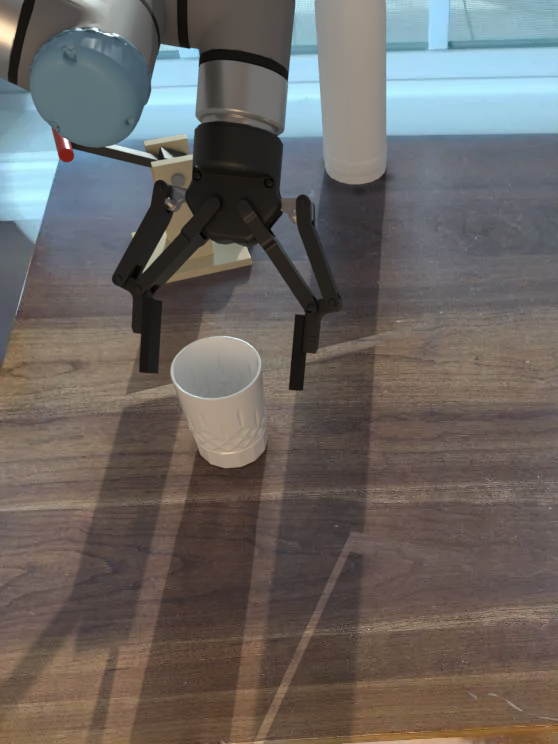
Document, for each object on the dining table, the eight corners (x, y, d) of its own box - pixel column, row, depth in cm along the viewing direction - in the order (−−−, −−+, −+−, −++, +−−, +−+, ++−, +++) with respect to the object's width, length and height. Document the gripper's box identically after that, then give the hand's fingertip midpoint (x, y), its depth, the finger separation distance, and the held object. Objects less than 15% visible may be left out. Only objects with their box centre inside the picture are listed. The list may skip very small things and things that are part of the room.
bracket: (147, 289, 96) (117, 185, 85) (133, 241, 101) (103, 137, 90) (252, 266, 98) (236, 162, 88) (233, 220, 103) (216, 117, 93)
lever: (56, 165, 83) (60, 142, 82) (48, 132, 86) (52, 109, 85) (188, 195, 90) (194, 174, 89) (176, 164, 94) (182, 143, 92)
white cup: (177, 461, 82) (153, 386, 74) (213, 404, 86) (195, 327, 78) (253, 483, 81) (238, 409, 72) (286, 423, 85) (275, 347, 77)
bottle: (387, 151, 112) (387, -128, 87) (387, 187, 107) (387, -96, 83) (325, 150, 112) (307, -129, 87) (322, 186, 107) (303, -97, 82)
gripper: (388, 156, 77) (363, 396, 81) (116, 129, 78) (105, 366, 82) (378, 132, 69) (352, 398, 73) (79, 103, 71) (68, 365, 75)
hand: (221, 382), depth 78 cm, fingers open, 13 cm apart
